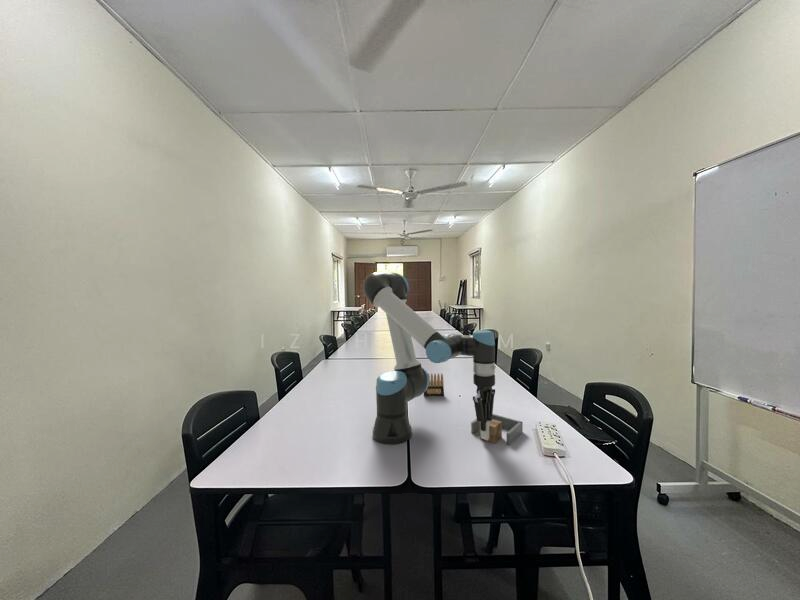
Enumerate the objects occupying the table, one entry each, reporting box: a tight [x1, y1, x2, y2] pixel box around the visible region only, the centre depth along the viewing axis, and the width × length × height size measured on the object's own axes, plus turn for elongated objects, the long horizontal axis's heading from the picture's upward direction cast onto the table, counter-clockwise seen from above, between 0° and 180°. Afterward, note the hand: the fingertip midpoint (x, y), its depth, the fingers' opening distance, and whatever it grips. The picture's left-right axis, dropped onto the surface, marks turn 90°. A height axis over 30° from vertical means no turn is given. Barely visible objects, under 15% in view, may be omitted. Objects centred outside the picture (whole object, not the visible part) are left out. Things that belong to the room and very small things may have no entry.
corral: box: [470, 413, 524, 446], centre depth 118 cm, size 13×15×4 cm
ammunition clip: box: [423, 372, 445, 397], centre depth 160 cm, size 11×2×12 cm, turn 90°
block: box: [479, 419, 503, 444], centre depth 114 cm, size 6×6×6 cm
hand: (485, 438), depth 110 cm, fingers closed
